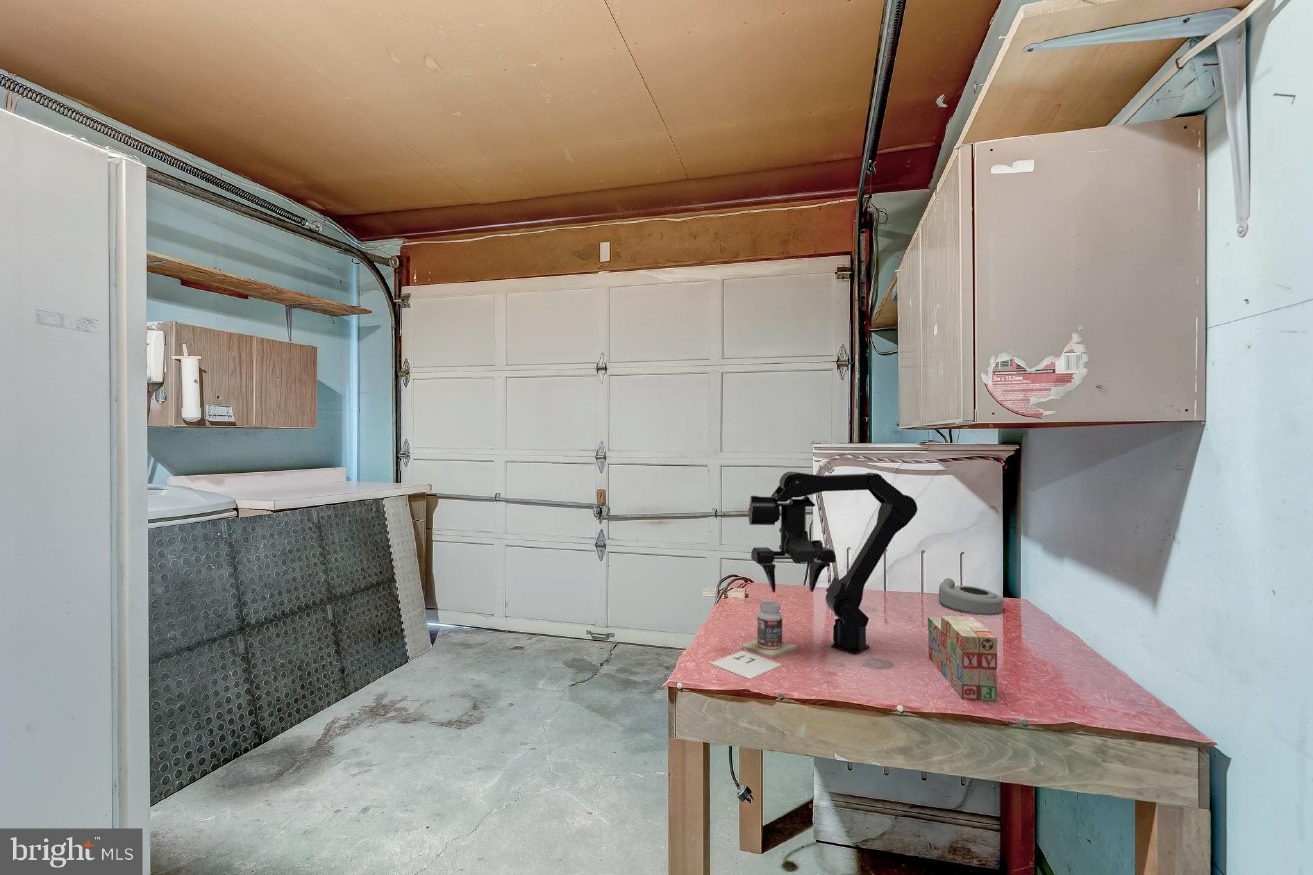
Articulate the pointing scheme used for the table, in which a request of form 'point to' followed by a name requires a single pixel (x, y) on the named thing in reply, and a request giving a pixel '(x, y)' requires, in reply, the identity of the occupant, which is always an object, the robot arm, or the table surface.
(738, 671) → the card
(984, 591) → the turbocharger housing
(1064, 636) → the table surface
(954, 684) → the stack of blocks
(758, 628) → the pill bottle
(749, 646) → the oak coaster
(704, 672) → the table surface
